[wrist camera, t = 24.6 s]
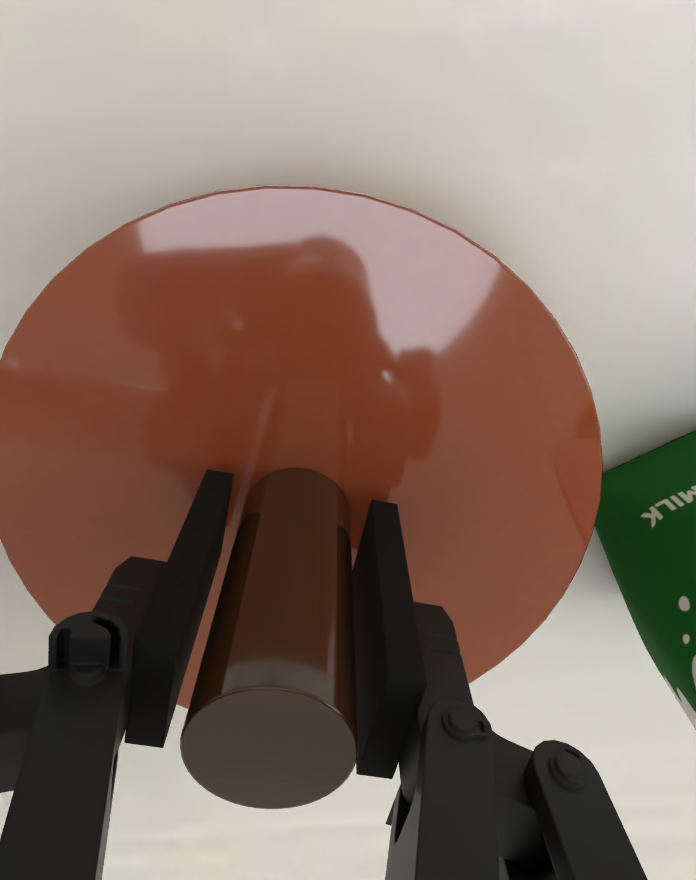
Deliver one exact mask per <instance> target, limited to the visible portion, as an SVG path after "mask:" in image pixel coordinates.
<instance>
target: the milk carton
mask: <svg viewBox="0 0 696 880" xmlns="http://www.w3.org/2000/svg"><path fill="white" fill-rule="evenodd" d="M594 525H595V528H596V530H597V533H598V535H599V538H600V540H601V543H602V545H603V548H604V550H605V553H606V555H607V558H608V561H609V563H610V566H611V568H612V571H613V573H614V576H615V578H616V581H617V583H618V585H619V588H620V590H621V593H622V595H623V598H624V600H625V602H626V605H627V607H628V610H629V612H630V614H631V616H632V619H633V621H634V623H635V625H636V628H637V630H638V632H639V634H640V636H641V639H642V641H643V643H644V645H645V647H646V649H647V650H648V652H649V654H650V656H651V658H652V659H653V661H654V663H655V665H656V667H657V668H658V670H659V672H660V673H661V675H662V677H663V678H664V680H665V681H666V683H667V685H668V686H669V688H670V689H671V691H672V693H673V694H674V696H675V697H676V699H677V701H678V702H679V704H680V705H681V707H682V709H683V710H684V712H685V713H686V715H687V717H688V718H689V720H690V721H691V723H692V725H693V726H694V728H695V729H696V431H694V432H692V433H689V434H687V435H685V436H683V437H681V438H679V439H677V440H674V441H672V442H670V443H668V444H666V445H664V446H662V447H659V448H657V449H655V450H653V451H651V452H649V453H647V454H644V455H642V456H640V457H638V458H636V459H634V460H631V461H629V462H627V463H625V464H623V465H621V466H619V467H616V468H614V469H612V470H610V471H608V472H606V473H604V474H602V480H601V493H600V502H599V506H598V511H597V515H596V520H595V524H594Z"/></svg>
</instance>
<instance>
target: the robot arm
mask: <svg viewBox="0 0 696 880" xmlns="http://www.w3.org/2000/svg"><path fill="white" fill-rule="evenodd" d="M233 476H234V474H231V473H226V472H220V471H215V470H209V469H207V470H206V472H205V474H204V477H203V479H202V481H201V484H200V486H199V488H198V491H197V493H196V495H195V498H194V500H193V502H192V505H191V507H190V509H189V512H188V514H187V517H186V519H185V521H184V524H183V526H182V528H181V531H180V533H179V535H178V538H177V540H176V542H175V545H174V547H173V549H172V552H171V554H170V556H169V559H168V561H167V562H165V561H159V560H153V559H147V558H141V557H135V556H131V557H130V558H128V559H127V560H126V561H124V562H123V563H121V564H120V565H119V566H117V567H116V568H115V570H114V572H113V573H112V575H111V577H110V579H109V581H108V583H107V586H105V588H104V590H103V592H102V594H101V595H100V599H98V601H97V603H96V604H95V606H94V608H93V610H92V611H90V612H81V613H77V614H75V615H72V616H69V617H67V618H65V619H64V620H62V621H61V622H60V623H58V624H57V625H56V626H55V627H54V629H53V630H52V632H51V634H50V635H49V661H48V666H46V667H44V668H41V669H38V670H33V671H28V672H21V673H12V674H3V675H0V793H2V792H8V791H13V790H14V793H13V797H12V800H11V804H10V807H9V811H8V814H7V818H6V821H5V825H4V828H3V832H2V835H1V839H0V880H102V873H103V865H104V858H105V851H106V843H107V836H108V828H109V821H110V814H111V806H112V799H113V791H114V784H115V777H116V769H117V761H118V749H119V746H120V743H121V741H122V738H123V735H124V733H125V730H126V733H125V743H130V744H138V745H145V746H152V747H160V748H163V747H164V743H165V740H166V737H167V733H168V730H169V727H170V723H171V720H172V717H173V713H174V710H175V707H176V703H177V700H178V697H179V693H180V690H181V686H182V683H183V680H184V676H185V673H186V670H187V666H188V663H189V660H190V656H191V653H192V650H193V646H194V643H195V640H196V636H197V633H198V630H199V626H200V623H201V620H202V616H203V613H204V609H205V606H206V603H207V599H208V596H209V593H210V589H211V586H212V583H213V579H214V576H215V573H216V569H217V566H218V563H219V559H220V556H221V552H222V546H223V540H224V533H225V527H226V521H227V514H228V508H229V502H230V495H231V489H232V483H233ZM352 577H353V606H354V636H355V665H356V694H357V724H358V756H357V761H356V769H357V774H359V775H367V776H374V777H381V778H389V779H392V778H393V776H394V773H395V770H396V768H397V765H398V762H399V769H400V779H401V785H400V787H399V790H398V792H397V795H396V798H395V800H394V803H393V805H392V808H391V811H390V813H389V816H388V819H387V822H386V824H388V825H391V824H392V828H391V836H390V844H389V852H388V861H387V869H386V877H385V880H647V877H646V875H645V873H644V871H643V869H642V867H641V864H640V862H639V860H638V858H637V856H636V853H635V851H634V849H633V847H632V845H631V843H630V840H629V838H628V836H627V834H626V832H625V829H624V827H623V825H622V823H621V821H620V819H619V816H618V814H617V812H616V810H615V808H614V805H613V803H612V801H611V799H610V797H609V795H608V792H607V790H606V788H605V786H604V784H603V782H602V779H601V777H600V775H599V773H598V772H597V770H596V768H595V767H594V765H593V764H592V762H591V761H590V760H589V759H588V758H587V757H586V756H585V755H584V754H582V753H581V752H580V751H579V750H577V749H575V748H574V747H572V746H570V745H569V744H567V743H563V742H559V741H556V740H550V741H543V742H542V743H540V744H539V745H537V746H536V747H535V749H534V751H531V750H529V749H526V748H524V747H522V746H519V745H517V744H515V743H513V742H510V741H508V740H506V739H504V738H502V737H501V736H499V735H497V734H496V733H495V732H493V731H492V729H491V725H490V723H489V721H488V720H487V718H486V717H485V715H484V714H483V713H482V712H481V711H480V710H479V709H477V708H476V707H475V706H474V704H473V701H472V697H471V693H470V689H469V684H468V680H467V676H466V672H465V668H464V664H463V660H462V656H461V655H460V648H459V644H458V642H457V636H456V632H455V627H454V623H453V621H452V620H451V618H450V617H449V616H448V614H447V613H446V612H445V610H444V609H443V607H442V606H437V605H431V604H425V603H419V602H414V601H413V595H412V589H411V583H410V577H409V571H408V565H407V559H406V553H405V547H404V541H403V535H402V529H401V523H400V517H399V511H398V505H397V504H395V503H389V502H384V501H378V500H373V499H372V500H371V503H370V507H369V511H368V514H367V518H366V522H365V525H364V529H363V533H362V537H361V540H360V544H359V548H358V551H357V555H356V559H355V562H354V566H353V570H352Z"/></svg>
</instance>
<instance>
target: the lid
mask: <svg viewBox="0 0 696 880" xmlns="http://www.w3.org/2000/svg"><path fill="white" fill-rule="evenodd" d="M602 467H603V461H602V448H601V435H600V426H599V421H598V417H597V413H596V409H595V404H594V400H593V396H592V391H591V389H590V386H589V384H588V381H587V379H586V376H585V374H584V371H583V369H582V366H581V364H580V361H579V359H578V357H577V354H576V353H575V351H574V349H573V347H572V346H571V344H570V342H569V341H568V339H567V337H566V336H565V334H564V332H563V331H562V329H561V327H560V326H559V324H558V322H557V321H556V319H555V318H554V317H553V315H552V314H551V313H550V312H549V310H548V309H547V308H546V307H545V306H544V304H543V303H542V302H541V301H540V299H539V298H538V297H537V296H536V295H535V293H534V292H533V291H532V290H531V289H530V287H529V286H528V285H527V284H526V283H525V282H523V281H522V280H521V279H520V278H519V277H518V276H517V275H516V274H515V273H513V272H512V271H511V270H510V269H509V268H508V267H507V266H506V265H505V264H503V263H502V262H501V261H500V260H499V259H498V258H497V257H496V256H494V255H493V254H491V253H490V252H488V251H487V250H485V249H484V248H482V247H481V246H479V245H478V244H476V243H475V242H473V241H472V240H470V239H469V238H467V237H466V236H464V235H463V234H461V233H460V232H458V231H457V230H455V229H454V228H452V227H450V226H448V225H445V224H443V223H441V222H439V221H437V220H435V219H433V218H431V217H429V216H427V215H424V214H422V213H420V212H418V211H416V210H414V209H412V208H409V207H406V206H403V205H400V204H397V203H393V202H390V201H387V200H384V199H381V198H377V197H374V196H371V195H368V194H364V193H358V192H352V191H346V190H340V189H334V188H328V187H321V186H305V185H262V186H253V187H245V188H237V189H229V190H221V191H216V192H213V193H209V194H205V195H202V196H198V197H194V198H191V199H187V200H183V201H180V202H176V203H173V204H169V205H167V206H164V207H162V208H160V209H158V210H155V211H153V212H151V213H148V214H146V215H144V216H142V217H139V218H137V219H135V220H133V221H130V222H128V223H126V224H124V225H122V226H121V227H119V228H118V229H116V230H115V231H113V232H111V233H110V234H108V235H107V236H105V237H104V238H102V239H100V240H99V241H97V242H96V243H94V244H93V245H91V246H89V247H88V248H86V249H85V250H84V251H83V252H82V253H81V254H80V255H78V256H77V257H76V258H75V259H74V260H73V261H72V262H70V263H69V264H68V265H67V266H66V267H65V268H64V269H63V270H61V271H60V272H59V273H58V274H57V275H56V276H55V277H53V279H52V280H51V281H50V282H49V283H48V285H47V286H46V287H45V288H44V290H43V291H42V292H41V293H40V294H39V296H38V297H37V298H36V299H35V300H34V302H33V303H32V304H31V305H30V307H29V308H28V309H27V310H26V312H25V313H24V315H23V317H22V319H21V320H20V322H19V324H18V326H17V327H16V329H15V331H14V332H13V334H12V336H11V338H10V339H9V341H8V343H7V345H6V346H5V349H4V352H3V354H2V357H1V360H0V539H1V541H2V544H3V546H4V548H5V551H6V553H7V556H8V558H9V560H10V562H11V564H12V565H13V567H14V569H15V570H16V572H17V574H18V575H19V577H20V579H21V581H22V582H23V584H24V586H25V587H26V589H27V591H28V592H29V593H30V594H31V596H32V597H33V598H34V600H35V601H36V602H37V603H38V605H39V606H40V607H41V609H42V610H43V611H44V612H45V614H46V615H47V616H48V618H49V619H50V620H51V621H52V622H53V623H54V624H55V625H57V624H58V623H60V622H61V621H62V620H64V619H65V618H67V617H69V616H72V615H75V614H77V613H81V612H90V611H92V610H93V608H94V606H95V604H96V603H97V601H98V599H100V595H101V594H102V592H103V590H104V588H105V586H107V583H108V581H109V579H110V577H111V575H112V573H113V572H114V570H115V568H116V567H117V566H119V565H120V564H121V563H123V562H124V561H126V560H127V559H128V558H130V557H131V556H135V557H141V558H147V559H153V560H159V561H165V562H167V561H168V559H169V556H170V554H171V552H172V549H173V547H174V545H175V542H176V540H177V538H178V535H179V533H180V531H181V528H182V526H183V524H184V521H185V519H186V517H187V514H188V512H189V509H190V507H191V505H192V502H193V500H194V498H195V495H196V493H197V491H198V488H199V486H200V484H201V481H202V479H203V477H204V474H205V472H206V470H207V469H209V470H215V471H220V472H226V473H231V474H234V476H233V483H232V489H231V495H230V502H229V508H228V514H227V521H226V527H225V533H224V540H223V546H222V552H221V556H220V559H219V563H218V566H217V569H216V573H215V576H214V579H213V583H212V586H211V589H210V593H209V596H208V599H207V603H206V606H205V609H204V613H203V616H202V620H201V623H200V626H199V630H198V633H197V636H196V640H195V643H194V646H193V650H192V653H191V656H190V660H189V663H188V666H187V670H186V673H185V676H184V680H183V683H182V686H181V690H180V693H179V697H178V700H177V703H176V704H177V705H180V706H182V707H185V708H187V709H188V712H187V715H186V719H185V723H184V726H183V730H182V734H181V738H180V749H181V756H182V759H183V762H184V764H185V766H186V768H187V770H188V772H189V773H190V774H191V776H192V777H193V778H194V779H195V780H196V781H197V782H198V783H199V784H200V785H201V786H202V787H204V788H205V789H206V790H208V791H209V792H211V793H212V794H214V795H216V796H218V797H220V798H222V799H224V800H227V801H229V802H232V803H235V804H239V805H243V806H247V807H253V808H261V809H283V808H291V807H297V806H301V805H305V804H309V803H312V802H314V801H317V800H319V799H321V798H323V797H325V796H327V795H329V794H330V793H332V792H333V791H335V790H336V789H337V788H338V787H340V786H341V785H342V784H343V783H344V782H345V781H346V779H347V778H348V777H349V775H350V774H351V772H352V770H353V768H354V766H355V764H356V761H357V756H358V724H357V694H356V665H355V636H354V606H353V577H352V570H353V566H354V562H355V559H356V555H357V551H358V548H359V544H360V540H361V537H362V533H363V529H364V525H365V522H366V518H367V514H368V511H369V507H370V503H371V500H372V499H373V500H378V501H384V502H389V503H395V504H397V505H398V511H399V517H400V523H401V529H402V535H403V541H404V547H405V553H406V559H407V565H408V571H409V577H410V583H411V589H412V595H413V601H414V602H419V603H425V604H431V605H437V606H442V607H443V609H444V610H445V612H446V613H447V614H448V616H449V617H450V618H451V620H452V621H453V623H454V627H455V632H456V636H457V642H458V644H459V648H460V655H461V656H462V660H463V664H464V668H465V672H466V676H467V680H468V684H469V683H471V682H473V681H474V680H476V679H477V678H479V677H480V676H482V675H483V674H485V673H486V672H488V671H489V670H491V669H492V668H494V667H495V666H497V665H498V664H499V663H500V662H502V661H503V660H504V659H505V658H506V657H508V656H509V655H510V654H511V653H512V652H514V651H515V650H516V649H517V648H518V647H519V646H521V645H522V644H523V643H524V642H525V641H526V640H527V639H528V638H529V637H530V636H531V635H532V633H533V632H534V631H535V630H536V629H537V628H538V627H539V626H540V625H541V624H542V623H543V622H544V621H545V620H546V618H547V617H548V615H549V614H550V613H551V611H552V610H553V609H554V607H555V606H556V605H557V603H558V602H559V600H560V599H561V598H562V596H563V595H564V594H565V592H566V590H567V588H568V586H569V584H570V583H571V581H572V579H573V577H574V575H575V574H576V572H577V570H578V568H579V566H580V564H581V562H582V559H583V557H584V554H585V551H586V549H587V546H588V543H589V541H590V538H591V536H592V533H593V528H594V524H595V520H596V515H597V511H598V506H599V502H600V493H601V480H602Z"/></svg>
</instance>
